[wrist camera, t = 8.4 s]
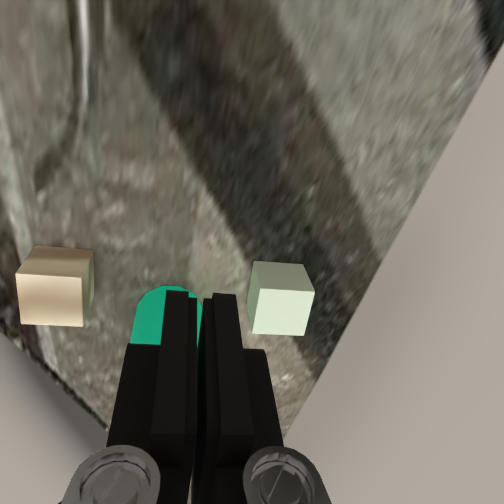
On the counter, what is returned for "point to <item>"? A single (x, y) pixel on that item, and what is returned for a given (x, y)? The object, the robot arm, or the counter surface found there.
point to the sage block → (279, 298)
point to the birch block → (56, 286)
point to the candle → (155, 316)
